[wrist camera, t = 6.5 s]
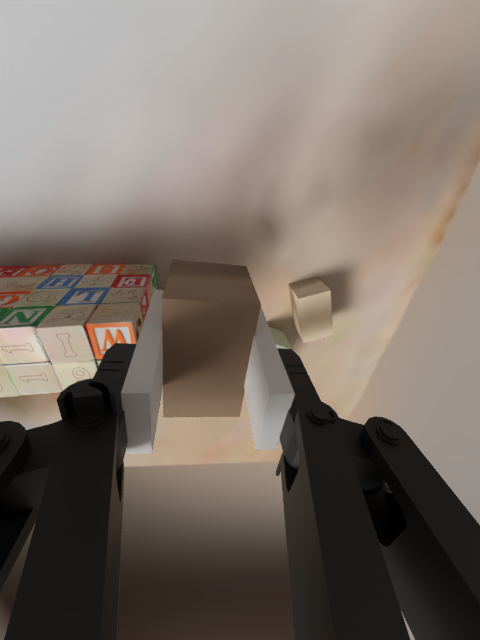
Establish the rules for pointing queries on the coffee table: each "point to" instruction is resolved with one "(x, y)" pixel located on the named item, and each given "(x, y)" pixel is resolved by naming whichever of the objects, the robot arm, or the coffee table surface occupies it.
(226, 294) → the walnut brick
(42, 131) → the coffee table surface
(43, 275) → the stack of blocks
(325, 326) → the maple brick
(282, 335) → the sage brick
